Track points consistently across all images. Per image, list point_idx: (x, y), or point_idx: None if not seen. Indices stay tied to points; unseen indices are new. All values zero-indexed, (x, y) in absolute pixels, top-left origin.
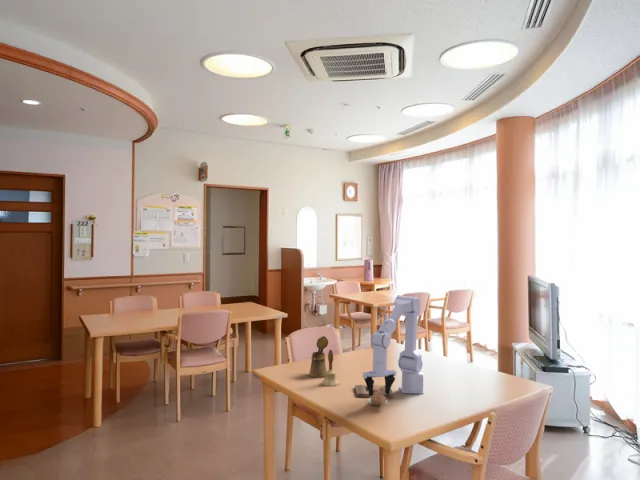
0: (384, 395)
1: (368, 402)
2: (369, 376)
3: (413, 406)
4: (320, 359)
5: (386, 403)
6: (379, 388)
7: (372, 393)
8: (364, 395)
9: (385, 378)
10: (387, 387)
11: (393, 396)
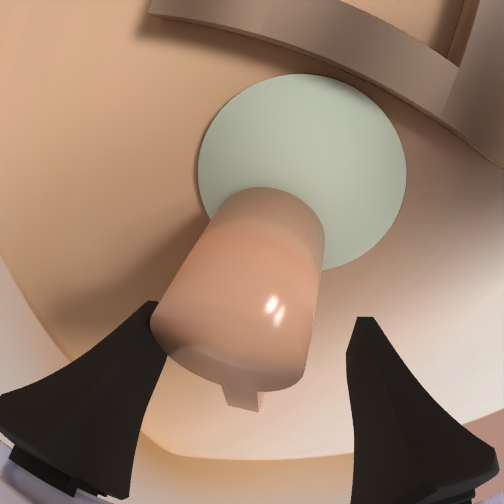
0: (439, 119)
1: (200, 194)
2: (60, 495)
3: (464, 332)
4: None
5: (349, 261)
6: (269, 366)
7: (162, 362)
8: (229, 29)
9: (398, 466)
10: (360, 403)
11: (494, 163)
